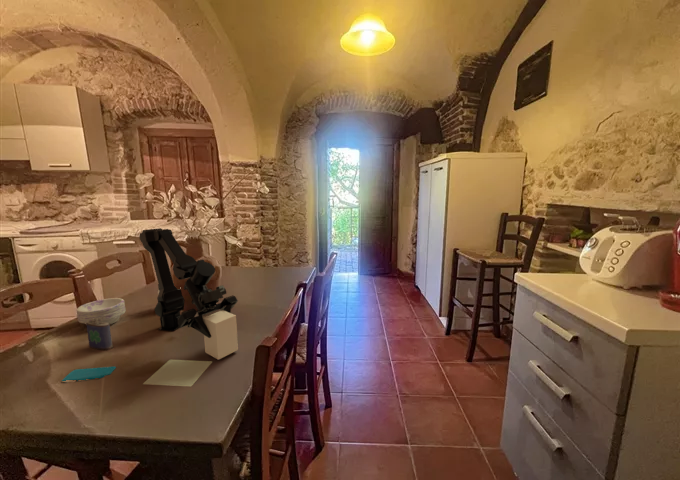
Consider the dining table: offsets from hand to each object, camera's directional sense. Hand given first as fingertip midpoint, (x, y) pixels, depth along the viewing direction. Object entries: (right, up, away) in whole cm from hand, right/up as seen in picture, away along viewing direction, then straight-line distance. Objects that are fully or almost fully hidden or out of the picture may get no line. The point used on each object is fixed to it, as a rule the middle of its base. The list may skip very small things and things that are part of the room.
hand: (221, 332), depth 97 cm
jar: (-38, -1, +40) cm, 55 cm away
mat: (-9, -10, -8) cm, 15 cm away
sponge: (-35, -10, -9) cm, 37 cm away
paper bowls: (-58, -4, +25) cm, 63 cm away
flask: (-44, -7, +6) cm, 45 cm away
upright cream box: (0, -6, +1) cm, 7 cm away
